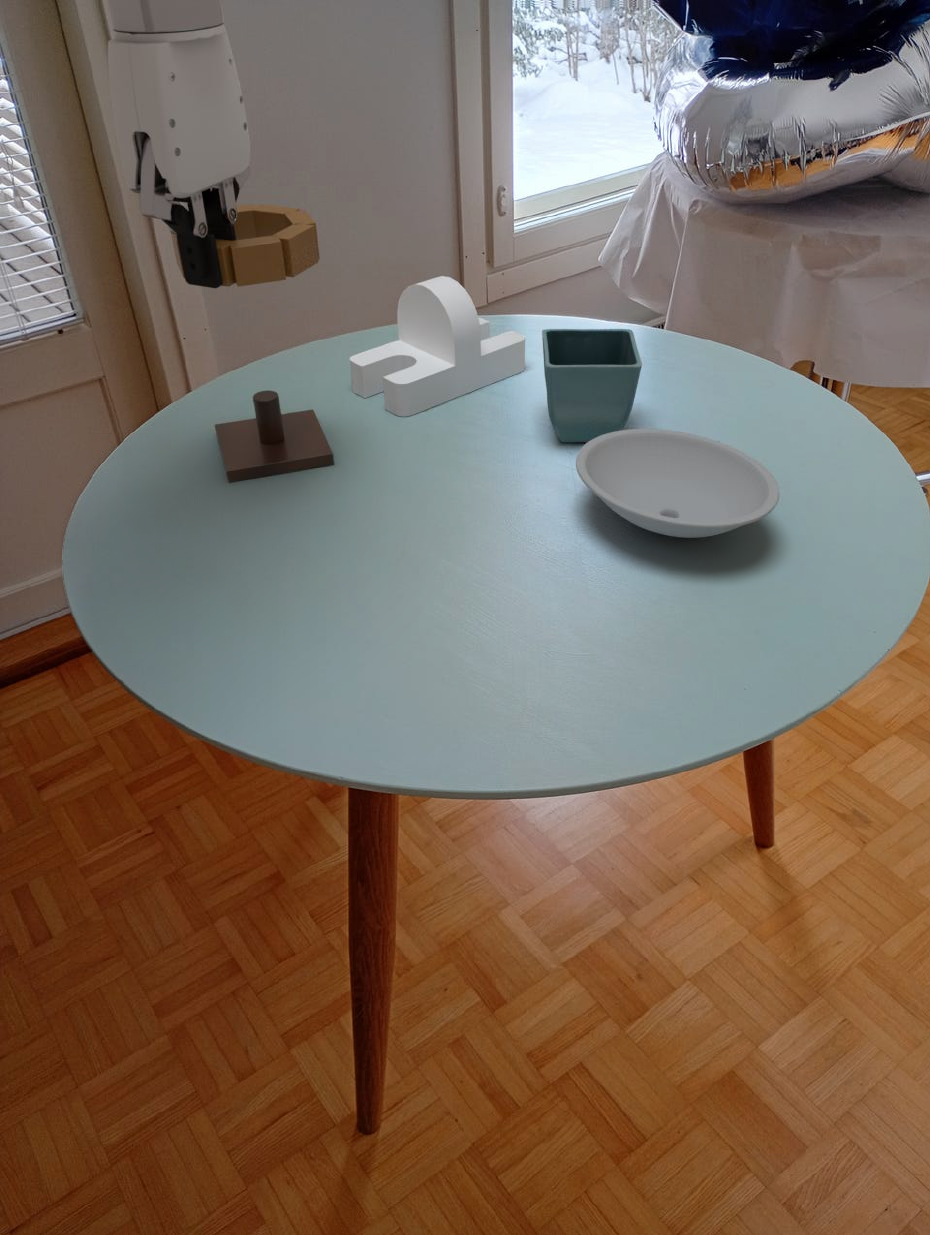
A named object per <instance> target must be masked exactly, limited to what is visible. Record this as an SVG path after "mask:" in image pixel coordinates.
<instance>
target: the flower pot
mask: <svg viewBox="0 0 930 1235" xmlns="http://www.w3.org/2000/svg"><path fill="white" fill-rule="evenodd" d="M541 336H542V338H541V339H542V352H543V353H542V354H543V370H544V380H545V387H546V388H545V389H546V401H547V411H548V416H549V420H550V423H551V426H552V429H553V431H554V432H555V435H556V436H557V438H558V439H559V440H560V442H563V443H587V442H589V441H590V440H592V439H594V438H596V437H598V436H601V435H604V434H607V433H611V432H615V431H621V430H623V428H624V427H625V425H626V424H627V421H628V419H629V418H630V415H631V412H632V410H633V406H634V402H635V398H636V393H637V389H638V385H639V380H640V377H641V376H640V375H641V371H642V366H643V363H642V359H641V356H640V353H639V348H638V346H637V342H636V338H635V334H634V331H633V330H632V329H630V328H546V329H542V330H541Z"/></svg>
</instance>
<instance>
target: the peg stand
mask: <svg viewBox="0 0 930 1235" xmlns="http://www.w3.org/2000/svg"><path fill="white" fill-rule="evenodd" d="M252 403H253V408H254V414H255V418H248V419H241V420H235V421H229V422H223V423H222V422H221V423H216V424H214V429H215V434H216V439H217V443H218V446H219V450H220V454H221V458H222V462H223V466H224V470H225V473H226V477H227V482H228V483H233V482H240V481H244V480H250V479H256V478H262V477H267V476H275V475H280V474H287V473H292V472H297V471H305V470H310V469H315V468H323V467H327V466H334V465H335V458H334V453H333V451H332V448H331V446H330V444H329V442H328V440H327V437H326V435H325V432H324V430H323V429H322V426H321V423H320V422H319V419H318V417H317V414H316V412H315V410H314V409H305V410H300V411H293V412H287V413H282V410H281V404H280V397H279V394H278V392H277V391H275V390H261V391H257V392H255V393H254V394H253V395H252Z"/></svg>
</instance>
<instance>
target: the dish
mask: <svg viewBox="0 0 930 1235" xmlns="http://www.w3.org/2000/svg"><path fill="white" fill-rule="evenodd" d="M575 468H576V472H577V475H578V476H579V478H580V480H581V482H582V483H583V484H584V485H585V486H586V487H587V488H588V489H589V491H590V492H592V493H593V494H594V495H596V496H597V497H599V499H601V500H602V502H603V503H604V504H605V505H606V506H607V507H608V508H610V509H611V510H612V511H613V512H614V513H616V514H617V515H619V516H620V517H621V518H623V519H624V520H626V521H628V522H629V523H632V524H633V525H634V526H637V527H640V528H642V529H644V530H647V531H650V532H652V533H656V534H658V535H664V536H669V537H675V538H685V539H686V538H688V539H694V538H698V539H699V538H707V537H712V536H718V535H721V534H724V533H725V534H726V533H728V532H730V531H733V530H735V529H737V528H740V527H742V526H746V525H749V524H751V523H755V522H758V521H759V520H761V519H763V518H765V517H767V516H768V515H769V514H770V513H772V511H773V510H774V509H775V508H776V506H777V505H778V502H779V500H780V489H779V488H780V487H779V485H778V481H777V480H776V478H775V477H774V476H773V474H772V473H771V472H770V471H769V470H768V469H767V468H766V467H765V466H764V465H763V464H762V463H760V462H759V461H757V459H755V458H754V457H752V456H750V455H749V454H747V453H745V452H743V451H742V450H739V449H737V448H735V447H734V446H731V445H728V444H727V443H723V442H721V441H719V440H715V439H712V438H709V437H706V436H702V435H698V434H694V433H689V432H683V431H677V430H672V429H662V428H661V429H659V428H632V429H621V431H615V432H611V433H607V434H604V435H601V436H598V437H596V438H594V439H592V440H590V441H589V442H585V444H583V445H582V446H581V447H580V449H579V451H578V453H577V455H576V457H575Z"/></svg>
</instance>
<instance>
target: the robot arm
mask: <svg viewBox="0 0 930 1235" xmlns="http://www.w3.org/2000/svg"><path fill="white" fill-rule="evenodd" d="M106 4H107V9H108V13H109V18H110V23H111V28H112V33H113V37H114V38H113V39H110V40H108V42H107V63H108V64H107V65H108V83H109V92H110V102H111V107H112V108H111V109H112V117H113V123H114V130H115V136H116V142H117V148H118V153H119V158H120V163H121V168H122V174H123V177H124V180H125V183H126V187H127V188H128V189H129V191H130V192H132V193H134V194H140V195H139V196H140V197H139V211H140V214H141V215H142V216H143V217H145V218H152V219H157V220H161V221H162V222H163V223H164V224H166V225H167V228H168V230H169V232H170V234H171V233H172V234H176V236H177V241H178V246H179V251H180V256H181V261H182V266H183V271H184V276H185V278H184V281H185V282H186V284H187V285H190V286H197V287H203V288H211V289H218V288H220V287H222V286H221V285H222V277H221V271H220V266H219V260H218V254H217V248H216V247H217V246H216V240H215V239H220V240H228V241H235V240H236V235H235V229H234V225H231V223H235V222H236V220H237V208H236V206H237V201H238V198H239V194H240V190H241V189H242V188H243V186H244V185H245V184H246V182H247V181H248V180H249V179H250V176H251V169H250V167H249V166H250V163H251V158H252V156H251V154H252V153H251V152H252V151H251V141H250V140H251V138H250V130H249V124H248V119H247V118H248V117H247V112H246V107H245V102H244V97H243V92H242V87H241V82H240V78H239V74H238V69H237V65H236V61H235V57H234V53H233V50H232V46H231V43H230V38H229V35H228V32H227V30H226V26H225V25H226V24H225V19H224V12H223V5H222V0H106ZM181 203H186V204H187V208H186V207H185V206H184V205H183V204H181Z"/></svg>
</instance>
